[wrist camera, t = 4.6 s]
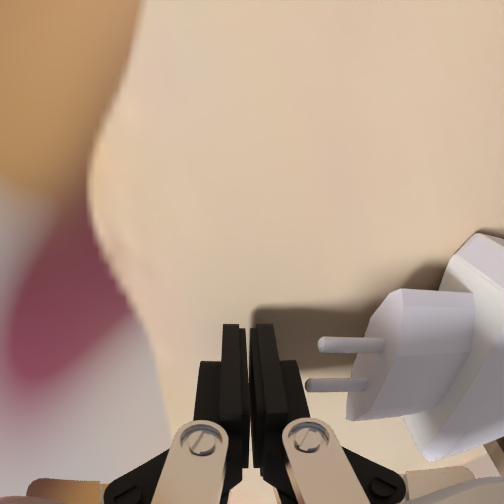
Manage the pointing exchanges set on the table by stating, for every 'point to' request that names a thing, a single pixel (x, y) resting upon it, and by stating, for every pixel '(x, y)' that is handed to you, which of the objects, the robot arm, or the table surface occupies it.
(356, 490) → the robot arm
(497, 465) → the grey-brown block
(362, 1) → the table surface
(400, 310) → the charger
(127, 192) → the table surface
